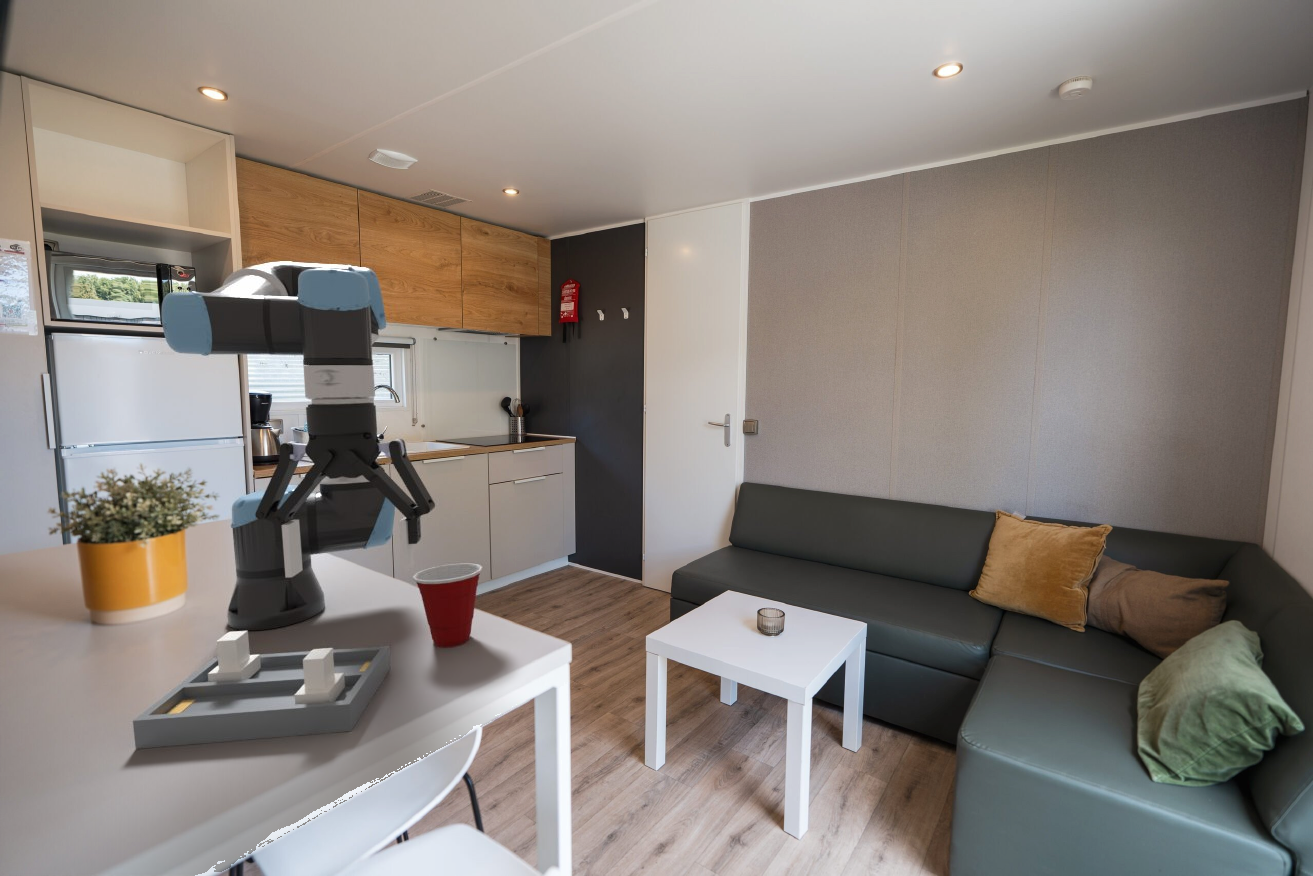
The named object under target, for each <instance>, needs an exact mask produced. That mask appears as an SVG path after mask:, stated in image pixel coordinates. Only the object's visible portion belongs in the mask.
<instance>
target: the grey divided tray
mask: <svg viewBox="0 0 1313 876" xmlns="http://www.w3.org/2000/svg"><path fill="white" fill-rule="evenodd" d="M311 651H312V650H310V651H296V652H295V651H294V652H279V653H276V652H275V653H263V654H260V663H261V668H260V669H259V670H258V671H257V672H256V673H255V674H254V675H253V676H251V677H250V678H249V679H245V680H230V681H216V682H209V681H208V673H209V672H211V671H212V670H213V669H214V668H216V667H217V666H218V656H217V657H213V658H211V659H210V660H209V661H208V662H207V663H205V664H204V665H203V666H201V667H200V668H199V669H197V670H196V671H195V672H193V673H192V674H191V675H190V676H189V677H187V678H186V679H185V680H183V681H182V682H181V683H180V684H178V685H177V686H176V687H174V688H173V689H171V690H170V691H169V692H168V693H167V694H165V695H164V696H163V697H161V698H160V699H159V700H157V701H156V702H155V703H154V704H152V705H151V706H149V708H147V709H146V710H145V711H143V712H142V713H141V714H139V715H138V716H137V717H136V718H135V719H133V720H132V726H133V727H132V728H133V735H134V737H133V738H134V745H135V749H136V750H137V749H138V750H139V749H149V748H151V749H152V748H161V747H162V748H163V747H175V746H176V747H177V746H186V745H198V744H210V743H211V744H212V743H213V744H214V743H223V742H234V741H235V742H237V741H245V740H247V741H249V740H259V739H270V738H271V739H273V738H284V737H295V736H305V735H306V736H307V735H319V734H321V735H322V734H331V733H333V734H334V733H342V732H345V733H346V732H351V731H353V729H354V727H355V726H356V724H357V722H358V721H359V719H360V718H361V717H362V714H363V713H364V711H365V710H366V708H367V707H368V705H369V703H370V702H371V700H372V698H373V697H374V696H375V693H376V692H377V690H378V689H379V688H380V686H381V685H382V683H383V681H384V680H385V678H386V676H387V675H388V673H389V672H390V670H391V655H390V654H391V653H390V645H386V646H385V645H384V646H372V647H370V646H369V647H368V646H367V647H357V648H356V647H353V648H337V649H333V659H334V674H335V673H344V680H345V688H344V689H343V690H342V692H341V693H340V695H339V696H338V697H337V699H336V700H335V701H330V702H317V703H304V704H295V696H294V695H295V694H296V693H297V692H298V690H299V689H300V688H301V687H302V686H303V685H304V670H303V659H304V658H305V657H306V656H307V655H308V654H309V653H310V652H311Z"/></svg>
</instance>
